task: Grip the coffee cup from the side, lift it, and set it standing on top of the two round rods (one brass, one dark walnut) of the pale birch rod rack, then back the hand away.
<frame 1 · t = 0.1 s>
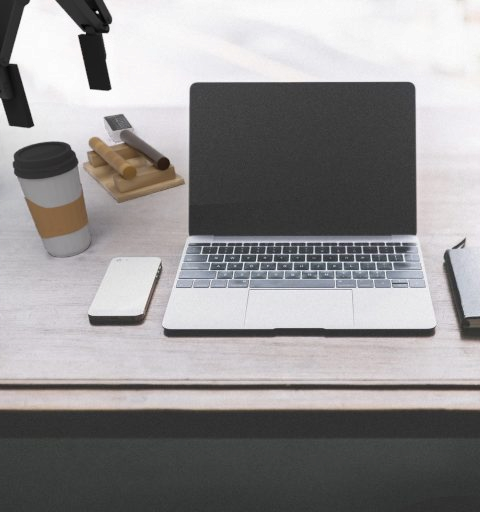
hand: (64, 106, 71), 24 cm above the table, tool pointing down, fingers open, 13 cm apart
rod rack: (132, 175, 113), on the table
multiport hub: (120, 133, 133), on the table
coffee cup: (69, 248, 91), on the table
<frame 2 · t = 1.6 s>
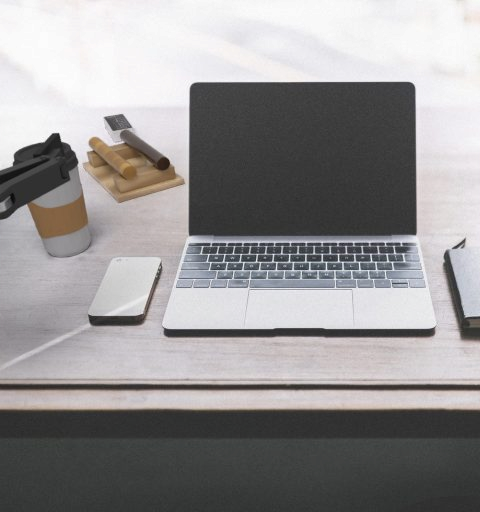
nothing on the table moved.
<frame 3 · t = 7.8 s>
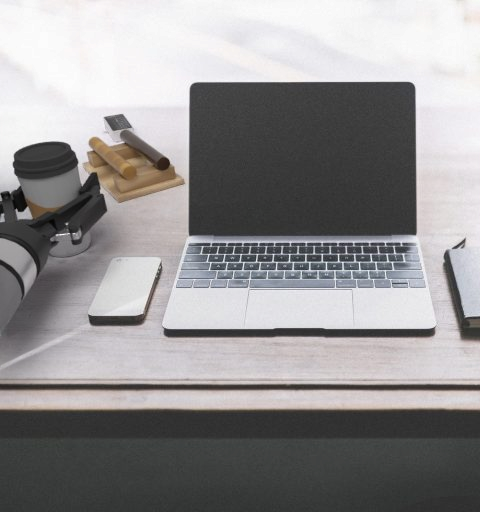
hand: (65, 182, 91), 8 cm above the table, tool horizontal, fingers closed on coffee cup, 8 cm apart
coffee cup: (69, 248, 91), on the table, touching gripper
everything else where it was.
when the fingers open (14 cm above the table, at t = 16.1 s): coffee cup stays where it is, resting on rod rack.
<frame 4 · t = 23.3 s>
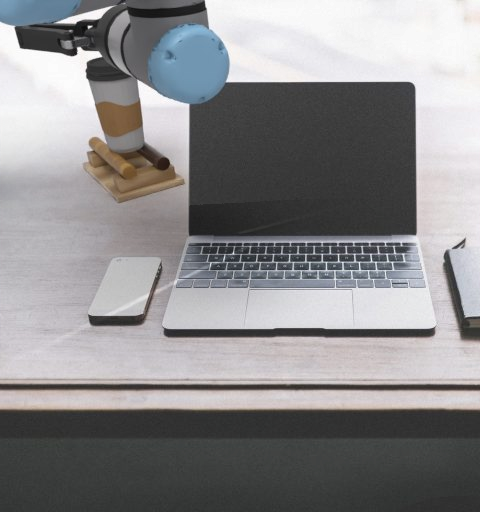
hand: (81, 17, 85), 30 cm above the table, tool horizontal, fingers open, 13 cm apart
coffee cup: (127, 147, 110), point 5 cm above the table, touching rod rack
everything else where it was.
at the end: coffee cup 0.1 cm off-centre on the rod rack, point 5.4 cm above the rod rack's base; coffee cup tilted 0°; the gripper is holding nothing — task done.
